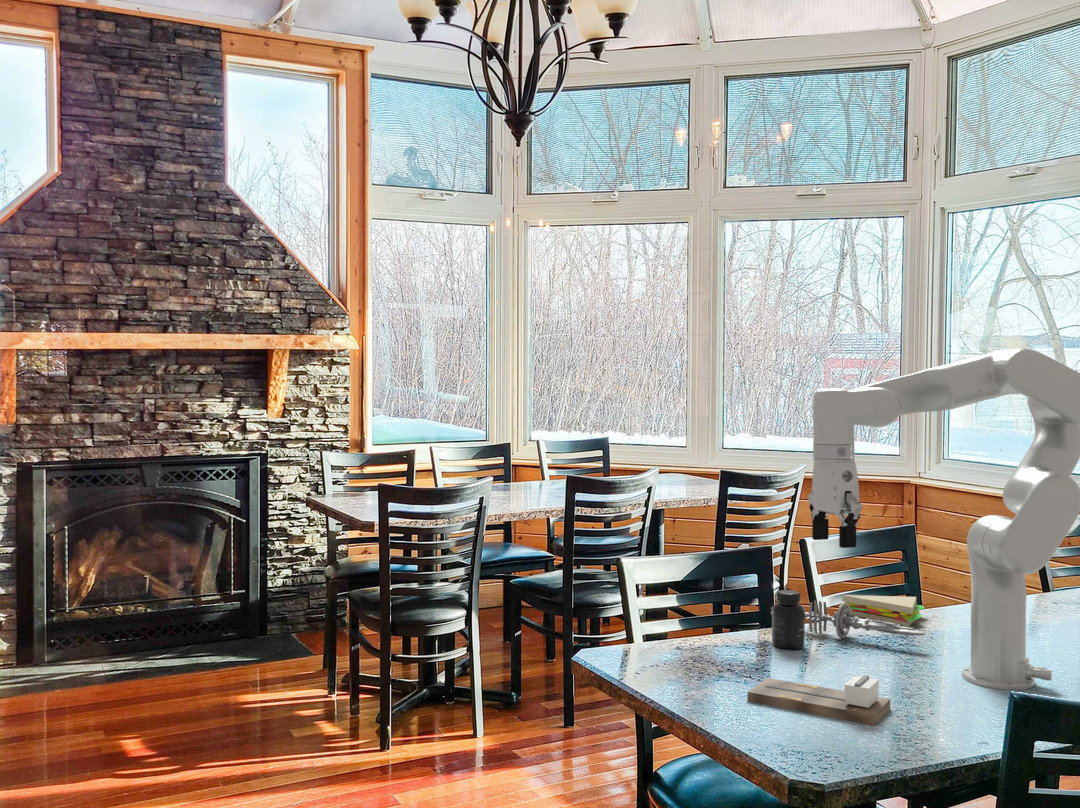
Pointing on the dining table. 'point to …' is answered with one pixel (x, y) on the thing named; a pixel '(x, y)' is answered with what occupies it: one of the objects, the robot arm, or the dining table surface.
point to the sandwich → (884, 608)
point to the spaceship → (852, 622)
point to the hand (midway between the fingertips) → (833, 543)
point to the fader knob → (861, 691)
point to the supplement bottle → (788, 621)
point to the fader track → (816, 701)
